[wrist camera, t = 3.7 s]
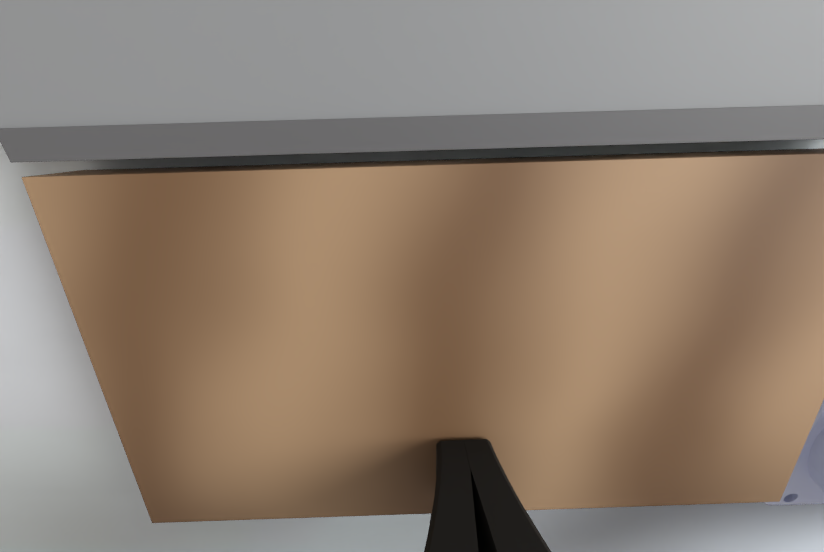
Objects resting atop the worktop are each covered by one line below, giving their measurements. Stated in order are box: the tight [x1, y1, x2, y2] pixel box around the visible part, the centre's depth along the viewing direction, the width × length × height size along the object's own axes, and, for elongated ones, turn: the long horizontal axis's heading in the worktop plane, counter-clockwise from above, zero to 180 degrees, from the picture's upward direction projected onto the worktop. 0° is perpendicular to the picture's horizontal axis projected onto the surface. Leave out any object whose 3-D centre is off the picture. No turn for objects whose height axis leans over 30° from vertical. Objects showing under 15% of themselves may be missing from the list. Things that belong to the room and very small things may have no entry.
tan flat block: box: [22, 149, 824, 523], centre depth 10 cm, size 18×10×2 cm, turn 91°
